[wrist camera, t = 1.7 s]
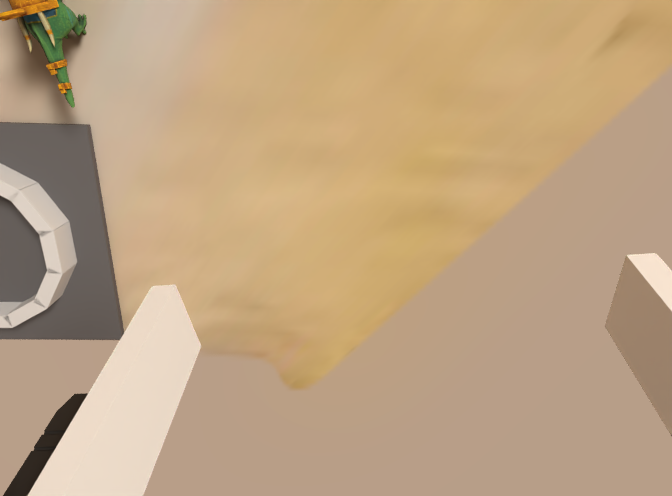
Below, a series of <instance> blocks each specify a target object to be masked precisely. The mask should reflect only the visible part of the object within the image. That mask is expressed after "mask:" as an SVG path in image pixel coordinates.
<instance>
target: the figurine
mask: <svg viewBox="0 0 672 496" xmlns="http://www.w3.org/2000/svg"><path fill="white" fill-rule="evenodd" d="M9 2H10V5H11V7H12V10H11V11H7V12H3V13H0V20H2V21H5V20H9V19H13V18H17V20H18V23H19V26H20V28H21V31H22V33H23V35H24V37H25V39H26V41H27V43H28V46H29V49H30V53H31V51H32V41H31V38H30V35H29V32H28V30H29V31H30V33H31V34H32V35H33V36H34V38H36V39H37V40H38V41H39V43H40V44H41V46H42V48H43V49H44V52H45V54H46V57H47V59H48V61H49V64H47V65H46V66H47V68H48V70H49V71H50V73H51V75H54V74H56V76H57V78H58V81H59V83H60V84H58V87H59V90H60V91H61V94H65V97H66V99H67V101H68V103H69V104H70V106H71V107H72V108H73V107H75V105H74V98H73V94H72V90H71V89H72V86H71V83H69V79H68V74H67V68H66V66H67V60H66V59H64V54H63V50H62V38H63V37H64V38H68V36H67V35H68V33H69V32H70V31H71V29H72V30H73V31H74V32H75V33H76V34H77V35H78V36H79V35H80V34H81V32H82V33H84V34H86V31H85V30H84V27H85V26H86V15H85V14H84V15H83V19H82V16H81V15H80V14H79V15H78V18H79V20H78V18H77V17H76V16H75V14H74V13H73V12H72V11H71V10H70V9H69V8H68V7H67V6H66V5H65V4H63V3H62V0H9Z"/></svg>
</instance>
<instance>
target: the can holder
mask: <svg viewBox="0 0 672 496" xmlns="http://www.w3.org/2000/svg"><path fill="white" fill-rule="evenodd" d="M123 334H124V329H123V323H122V317H121V311H120V305H119V299H118V293H117V287H116V280H115V274H114V268H113V262H112V256H111V250H110V244H109V238H108V232H107V225H106V219H105V213H104V207H103V201H102V195H101V189H100V183H99V177H98V170H97V164H96V158H95V152H94V146H93V140H92V134H91V128H90V125H84V124H47V123H10V122H0V339H73V340H75V339H76V340H77V339H78V340H120V339H121V337H122V336H123Z"/></svg>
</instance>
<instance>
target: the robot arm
mask: <svg viewBox="0 0 672 496" xmlns="http://www.w3.org/2000/svg"><path fill="white" fill-rule="evenodd" d="M605 327H606V329H607V331H608V332H609V334H610V336H611V337H612V339H613V341H614V342H615V344H616V346H617V347H618V349H619V350H620V352H621V354H622V355H623V357H624V359H625V360H626V362H627V364H628V365H629V367H630V369H631V370H632V372H633V373H634V375H635V377H636V378H637V380H638V382H639V383H640V385H641V387H642V388H643V390H644V392H645V393H646V395H647V396H648V398H649V400H650V401H651V403H652V405H653V406H654V408H655V410H656V411H657V413H658V415H659V416H660V418H661V420H662V421H663V423H664V424H665V426H666V428H667V429H668V431H669V433H670V434H671V436H672V271H671V270H670V268H669V267H668V266H667V265H666V264H665V263H664V262H663V261H662V260H661V258H660V257H659V256H658V255H657V254H656V253H651V254H636V255H626V258H625V261H624V264H623V268H622V271H621V274H620V278H619V281H618V284H617V287H616V291H615V294H614V298H613V301H612V304H611V307H610V311H609V314H608V317H607V321H606V324H605ZM200 348H201V344H200V342H199V340H198V337H197V335H196V332H195V330H194V328H193V325H192V323H191V321H190V318H189V316H188V313H187V311H186V309H185V306H184V304H183V301H182V299H181V297H180V294H179V292H178V290H177V287H176V285H161V286H152V287H151V289H150V290H149V292H148V294H147V295H146V297H145V299H144V300H143V302H142V304H141V305H140V307H139V309H138V310H137V312H136V314H135V315H134V317H133V319H132V321H131V322H130V324H129V326H128V327H127V329H126V331H125V332H124V334H123V336H122V337H121V339H120V341H119V342H118V344H117V346H116V347H115V349H114V351H113V353H112V354H111V356H110V358H109V360H108V361H107V363H106V364H105V366H104V368H103V369H102V371H101V373H100V375H99V376H98V378H97V380H96V382H95V383H94V385H93V387H92V388H91V390H90V391H89V393H88V394H74V395H73V396H72V397H71V398H70V399H69V400H68V401H67V402H66V403H65V404H64V405H63V406H62V407H61V408H60V409H59V410H58V411H57V412H56V413H55V415H54V417H53V418H52V420H51V421H50V423H49V424H48V426H47V427H46V429H45V433H44V435H41V437H40V439H39V440H38V442H37V443H36V445H35V446H34V451H31V453H30V454H29V456H28V457H27V459H26V460H25V462H24V464H23V465H22V467H21V468H20V470H19V471H18V473H17V475H16V476H15V478H14V479H13V481H12V482H11V484H10V486H9V487H8V489H7V490H6V492H5V493H4V495H3V496H143V495H144V492H145V489H146V487H147V484H148V481H149V479H150V476H151V474H152V472H153V469H154V466H155V463H156V461H157V458H158V456H159V453H160V451H161V448H162V446H163V443H164V441H165V438H166V436H167V433H168V430H169V428H170V425H171V423H172V420H173V417H174V415H175V412H176V410H177V407H178V405H179V402H180V400H181V397H182V394H183V392H184V389H185V387H186V384H187V382H188V379H189V377H190V374H191V371H192V369H193V366H194V363H195V361H196V359H197V356H198V353H199V351H200Z"/></svg>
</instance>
